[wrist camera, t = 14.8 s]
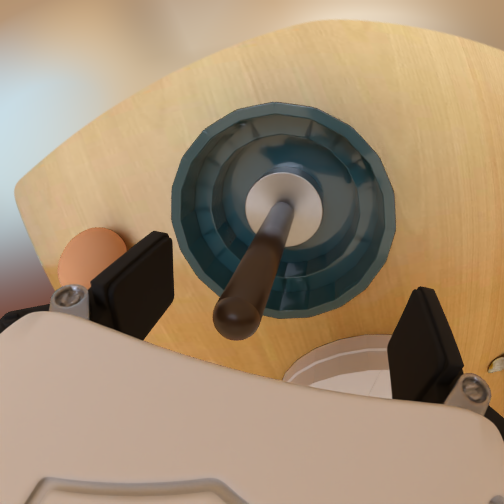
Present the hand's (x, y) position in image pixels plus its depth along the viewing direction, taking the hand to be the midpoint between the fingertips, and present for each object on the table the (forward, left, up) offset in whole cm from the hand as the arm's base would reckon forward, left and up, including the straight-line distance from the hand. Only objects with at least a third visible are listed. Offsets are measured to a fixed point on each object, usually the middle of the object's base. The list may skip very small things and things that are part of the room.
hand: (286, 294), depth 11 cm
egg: (+9, -20, -16) cm, 27 cm away
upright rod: (+1, -2, -15) cm, 15 cm away
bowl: (+1, -2, -15) cm, 15 cm away
